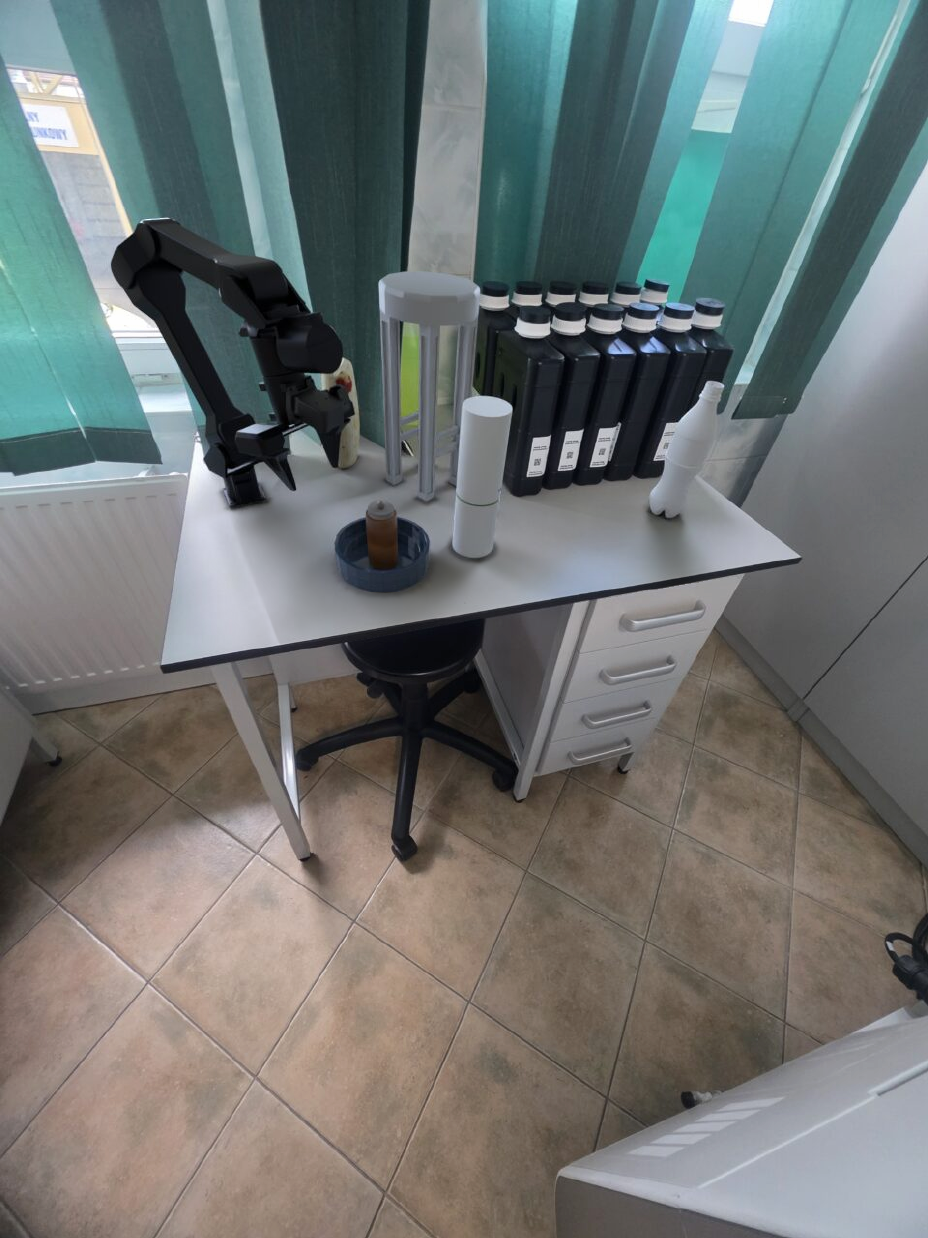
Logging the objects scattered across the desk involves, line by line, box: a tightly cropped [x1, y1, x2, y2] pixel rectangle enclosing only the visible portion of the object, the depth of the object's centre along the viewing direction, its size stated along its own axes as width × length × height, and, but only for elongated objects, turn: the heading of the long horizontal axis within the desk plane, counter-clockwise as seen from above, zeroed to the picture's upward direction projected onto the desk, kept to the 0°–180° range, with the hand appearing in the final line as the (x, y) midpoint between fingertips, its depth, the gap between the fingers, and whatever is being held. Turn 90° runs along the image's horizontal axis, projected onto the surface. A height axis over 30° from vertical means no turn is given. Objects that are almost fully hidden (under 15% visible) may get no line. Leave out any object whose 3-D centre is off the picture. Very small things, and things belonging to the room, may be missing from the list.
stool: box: [378, 270, 481, 502], centre depth 92 cm, size 16×16×35 cm
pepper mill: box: [365, 499, 398, 570], centre depth 80 cm, size 5×5×12 cm
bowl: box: [333, 516, 431, 593], centre depth 83 cm, size 15×15×4 cm
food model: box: [320, 357, 361, 469], centre depth 100 cm, size 10×7×20 cm
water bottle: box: [648, 380, 725, 519], centre depth 94 cm, size 7×7×25 cm
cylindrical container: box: [452, 395, 513, 559], centre depth 81 cm, size 7×7×25 cm
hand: (315, 478), depth 80 cm, fingers open, 9 cm apart
